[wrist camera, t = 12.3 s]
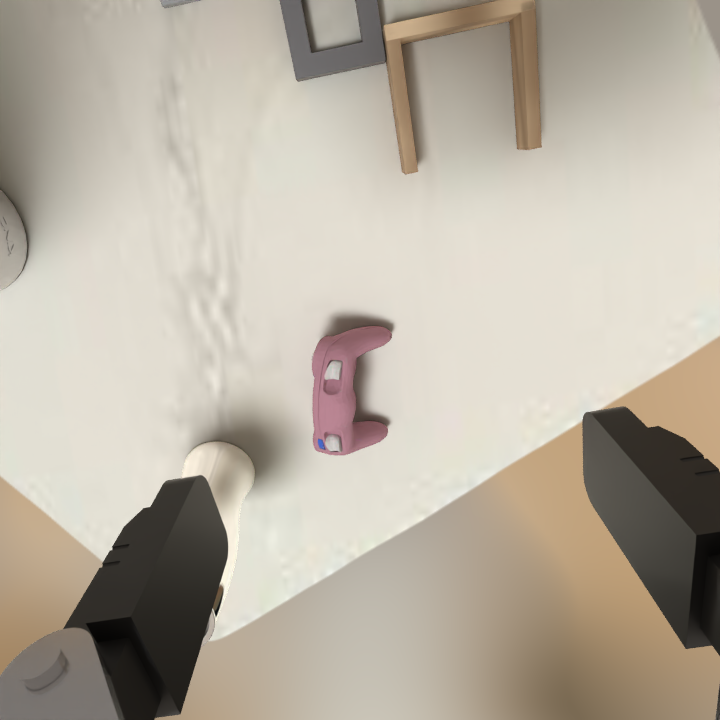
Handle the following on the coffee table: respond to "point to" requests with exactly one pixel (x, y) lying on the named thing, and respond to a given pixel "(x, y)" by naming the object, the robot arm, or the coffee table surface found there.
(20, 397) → the coffee table surface
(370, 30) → the grey square frame
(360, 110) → the coffee table surface
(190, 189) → the coffee table surface
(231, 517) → the beer glass
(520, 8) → the wooden u-shaped bracket
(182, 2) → the grey pad
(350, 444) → the video game controller
